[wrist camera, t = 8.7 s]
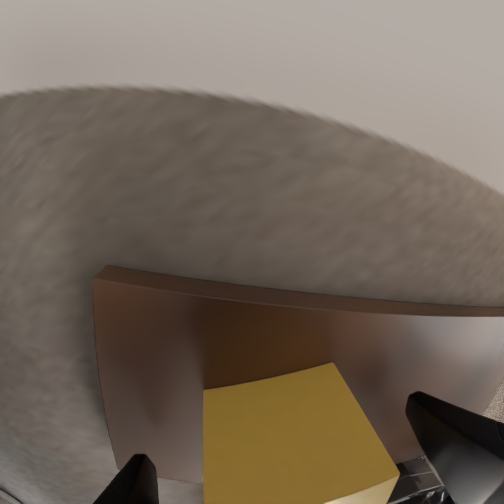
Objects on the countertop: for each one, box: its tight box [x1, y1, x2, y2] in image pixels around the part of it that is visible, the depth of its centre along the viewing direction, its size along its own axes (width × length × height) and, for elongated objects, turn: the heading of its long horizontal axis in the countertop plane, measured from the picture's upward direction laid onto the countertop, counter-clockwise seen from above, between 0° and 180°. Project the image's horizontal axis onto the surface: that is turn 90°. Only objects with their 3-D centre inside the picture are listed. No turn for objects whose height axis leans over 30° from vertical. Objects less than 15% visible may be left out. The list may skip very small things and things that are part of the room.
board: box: [93, 265, 504, 483], centre depth 10 cm, size 20×9×1 cm, turn 80°
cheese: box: [203, 362, 400, 504], centre depth 7 cm, size 4×4×4 cm
